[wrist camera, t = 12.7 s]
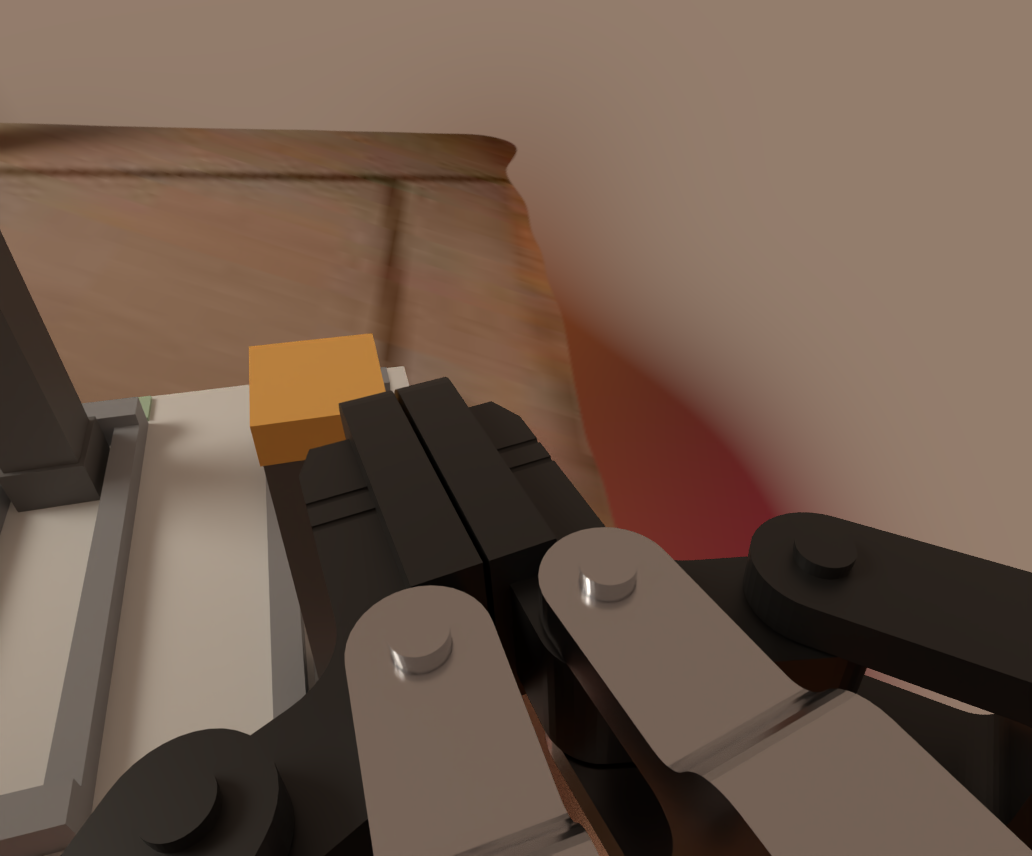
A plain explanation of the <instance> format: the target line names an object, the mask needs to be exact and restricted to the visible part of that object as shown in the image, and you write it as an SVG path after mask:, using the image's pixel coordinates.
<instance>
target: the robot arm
mask: <svg viewBox="0 0 1032 856" xmlns="http://www.w3.org/2000/svg"><path fill="white" fill-rule="evenodd" d="M339 412H340V416H341V421H342V425H343V429H344V434H345V438H346V440H343V441H339V442H336V443H332V444H328V445H324V446H321V447H317V448H313V449H309V451H308V454H307V457H306V459H305V462H304V465H303V467H302V470H301V472H300V475H299V480H300V484H301V488H302V492H303V496H304V500H305V503H306V507H307V511H308V515H309V519H310V523H311V527H312V530H313V535H314V539H315V543H316V547H317V551H318V554H319V558H320V562H321V566H322V570H323V574H324V578H325V582H326V586H327V590H328V594H329V598H330V602H331V606H332V609H333V613H334V617H335V622H336V629H337V634H336V644H335V648H334V652H333V655H332V657H331V659H330V662H329V664H328V666H327V668H326V669H325V671H324V672H323V674H322V676H321V677H320V678H319V680H318V681H317V682H316V683H315V685H314V686H313V687H312V688H311V689H310V690H309V691H308V692H307V693H306V694H305V695H304V696H303V697H302V698H301V699H300V700H299V701H297V702H296V703H295V704H294V705H292V706H291V707H290V708H289V709H287V710H286V711H284V712H283V713H281V714H280V715H279V716H277V717H276V718H274V719H273V720H271V721H270V722H269V723H267V724H266V725H264V726H263V727H261V728H260V729H258V730H257V731H256V732H254V733H253V734H251V735H248V734H246V733H243V732H240V731H238V730H232V729H225V728H216V729H205V730H199V731H194V732H191V733H188V734H185V735H182V736H179V737H176V738H174V739H172V740H170V741H168V742H166V743H164V744H162V745H160V746H159V747H157V748H155V749H154V750H152V751H150V752H149V753H147V754H146V755H145V756H144V757H142V758H141V759H140V760H138V761H137V762H136V763H134V764H133V765H132V766H131V767H130V768H129V769H128V770H127V771H126V772H125V773H124V774H123V775H122V776H121V777H120V778H119V779H118V780H117V781H116V783H115V784H114V785H113V786H112V787H111V789H110V790H109V791H108V792H107V794H106V795H105V796H104V798H103V799H102V800H101V802H100V803H99V804H98V806H97V807H96V808H95V810H94V811H93V812H92V814H91V815H90V817H89V818H88V819H87V821H86V822H85V823H84V825H83V826H82V827H81V829H80V830H79V831H78V833H77V834H76V835H75V837H74V838H73V839H72V841H71V842H70V843H69V845H68V846H67V847H66V849H65V850H64V851H63V853H62V854H61V855H60V856H599V855H598V852H597V850H596V848H595V846H594V844H593V842H592V841H591V839H590V837H589V835H588V834H587V832H586V831H585V829H584V828H583V827H582V825H580V824H579V823H576V822H573V821H572V819H571V818H570V817H569V815H568V813H567V811H566V809H565V807H564V805H563V803H562V800H561V798H560V795H559V793H558V790H557V788H556V785H555V782H554V780H553V777H552V775H551V772H550V769H549V767H548V764H547V761H546V759H545V756H544V754H543V751H542V748H541V746H540V743H539V741H538V738H537V735H536V733H535V730H534V728H533V725H532V722H531V720H530V717H529V715H528V712H527V709H526V707H525V704H524V702H523V699H522V695H524V694H527V696H528V698H529V700H530V702H531V704H532V706H533V708H534V710H535V712H536V714H537V716H538V718H539V720H540V722H541V724H542V726H543V728H544V730H545V735H546V742H547V746H548V750H549V752H550V754H551V756H552V758H553V760H554V762H555V763H556V765H557V767H558V769H559V770H560V772H561V774H562V775H563V777H564V779H565V781H566V782H567V784H568V786H569V788H570V789H571V791H572V793H573V794H574V796H575V798H576V800H577V801H578V803H579V805H580V806H581V808H582V810H583V812H584V813H585V815H586V817H587V819H588V820H589V822H590V824H591V825H592V827H593V829H594V831H595V832H596V834H597V836H598V837H599V839H600V841H601V843H602V844H603V846H604V848H605V850H606V851H607V853H608V855H609V856H1032V573H1031V572H1027V571H1024V570H1020V569H1017V568H1013V567H1010V566H1006V565H1003V564H999V563H996V562H992V561H989V560H984V559H982V558H978V557H974V556H971V555H967V554H964V553H960V552H957V551H953V550H949V549H946V548H942V547H939V546H935V545H932V544H928V543H925V542H921V541H918V540H914V539H910V538H906V537H903V536H900V535H896V534H893V533H889V532H886V531H882V530H878V529H875V528H872V527H868V526H864V525H861V524H857V523H854V522H850V521H846V520H843V519H840V518H836V517H832V516H828V515H823V514H817V513H801V512H798V513H789V514H784V515H780V516H777V517H774V518H772V519H769V520H768V521H766V522H765V523H763V524H762V525H761V526H760V527H759V528H758V529H757V530H756V531H755V533H754V535H753V537H752V540H751V544H750V549H749V554H748V557H736V558H735V557H734V558H720V559H705V560H689V561H677V560H673V559H672V558H671V557H670V556H669V555H668V554H667V553H666V552H665V551H664V550H663V549H662V548H661V547H660V546H658V545H657V544H656V543H655V542H653V541H651V540H650V539H648V538H646V537H644V536H642V535H640V534H638V533H635V532H632V531H628V530H624V529H619V528H609V527H605V526H604V524H603V523H602V522H601V520H600V519H599V518H598V517H597V515H596V514H595V513H594V511H593V510H592V509H591V508H590V506H589V505H588V504H587V502H586V501H585V500H584V499H583V497H582V496H581V495H580V493H579V492H578V491H577V490H576V488H575V487H574V486H573V484H572V483H571V482H570V480H569V479H568V478H567V477H566V475H565V474H564V473H563V471H562V470H561V469H560V468H559V466H558V465H557V464H556V462H555V461H552V460H551V457H550V455H549V453H548V452H547V451H546V450H545V448H544V447H543V446H542V444H541V443H540V442H539V443H538V442H537V438H536V437H535V435H534V434H533V433H532V431H531V430H530V429H529V428H528V426H527V425H526V424H525V422H524V421H523V420H522V419H521V417H520V416H518V415H516V414H514V413H513V412H511V411H509V410H507V409H505V408H503V407H501V406H499V405H497V404H495V403H494V402H492V401H491V402H487V403H484V404H480V405H476V406H472V407H469V408H468V406H467V405H466V403H465V402H464V400H463V399H462V397H461V396H460V394H459V393H458V391H457V390H456V388H455V387H454V385H453V384H452V382H451V381H450V380H449V379H448V378H447V377H443V378H439V379H435V380H431V381H427V382H423V383H419V384H415V385H411V386H407V387H403V388H399V389H395V391H394V393H393V391H391V390H390V391H386V392H382V393H378V394H374V395H370V396H366V397H362V398H358V399H354V400H350V401H346V402H342V403H339ZM866 668H870V669H873V670H875V671H878V672H881V673H884V674H886V675H889V676H892V677H895V678H898V679H900V680H903V681H906V682H908V683H912V684H914V685H917V686H920V687H922V688H925V689H928V690H931V691H934V692H936V693H939V694H942V695H944V696H947V697H950V698H953V699H956V700H959V701H961V702H964V703H967V704H969V705H972V706H975V707H978V708H980V709H983V710H986V711H989V712H992V713H994V714H990V715H979V714H972V713H968V712H965V711H962V710H959V709H956V708H953V707H951V706H948V705H945V704H942V703H939V702H937V701H934V700H931V699H929V698H926V697H923V696H920V695H918V694H915V693H912V692H910V691H907V690H904V689H901V688H899V687H896V686H893V685H891V684H888V683H885V682H882V681H880V680H877V679H874V678H871V677H869V676H866V675H864V674H865V671H866Z"/></svg>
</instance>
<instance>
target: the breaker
mask: <svg viewBox="0 0 1032 856" xmlns="http://www.w3.org/2000/svg"><path fill="white" fill-rule="evenodd" d="M382 392H386V391H385V386H384V382H383V378H382V373H381V369H380V365H379V360H378V356H377V352H376V347H375V343H374V339H373V334H372V333H371V334H362V335H352V336H343V337H334V338H324V339H315V340H306V341H296V342H287V343H278V344H269V345H259V346H250V347H249V402H250V430H251V433H252V437H253V441H254V445H255V448H256V452H257V456H258V460H259V464H260V467H261V466H263V467H264V471H265V475H266V479H267V483H268V486H269V490H270V494H271V498H272V502H273V506H274V509H275V513H276V517H277V521H278V525H279V529H280V532H281V536H282V540H283V544H284V548H285V552H286V555H287V559H288V563H289V567H290V571H291V575H292V579H293V582H294V586H295V590H296V594H297V598H298V602H299V605H300V609H301V613H302V617H303V621H304V625H305V628H306V632H307V636H308V640H309V644H310V648H311V651H312V655H313V661H314V674H315V683H316V682H317V681H318V680H319V678H320V677H321V676H322V674H323V672H324V671H325V669H326V668H327V666H328V664H329V662H330V659H331V657H332V655H333V652H334V648H335V644H336V634H337V629H336V622H335V617H334V613H333V609H332V606H331V602H330V598H329V594H328V590H327V586H326V582H325V578H324V574H323V570H322V566H321V562H320V558H319V554H318V551H317V547H316V543H315V539H314V535H313V530H312V527H311V523H310V519H309V515H308V511H307V507H306V503H305V500H304V496H303V492H302V488H301V484H300V480H299V475H300V472H301V470H302V467H303V465H304V462H305V459H306V457H307V454H308V451H309V449H313V448H317V447H321V446H324V445H328V444H332V443H336V442H339V441H343V440H346V438H345V434H344V429H343V425H342V421H341V416H340V412H339V403H342V402H346V401H350V400H354V399H358V398H362V397H366V396H370V395H374V394H378V393H382Z"/></svg>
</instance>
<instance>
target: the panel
mask: <svg viewBox="0 0 1032 856" xmlns="http://www.w3.org/2000/svg"><path fill="white" fill-rule="evenodd" d="M380 369H381V373H382V378H383V382H384V386H385V391H390V390H391V391H393V393H394V391H395V389H399V388H403V387H407V386H409V383H408V380H407V376H406V372H405V369H404V366H401V367H393V368H386V367H383V368H380ZM314 685H315V674H314V661H313V655H312V651H311V648H310V644H309V640H308V636H307V632H306V628H305V625H304V621H303V617H302V613H301V609H300V605H299V602H298V598H297V594H296V590H295V586H294V582H293V579H292V575H291V571H290V567H289V563H288V559H287V555H286V552H285V548H284V544H283V540H282V536H281V532H280V529H279V525H278V521H277V517H276V513H275V509H274V506H273V502H272V498H271V494H270V490H269V486H268V483H267V479H266V475H265V471H264V467H263V466H261V467H260V464H259V460H258V456H257V452H256V448H255V445H254V441H253V437H252V433H251V430H250V402H249V385H243V386H235V387H227V388H219V389H210V390H202V391H194V392H185V393H177V394H169V395H160V396H152V397H151V396H145V397H132V398H124V399H116V400H107V401H99V402H91V403H82V404H81V401H80V399H79V397H78V395H77V393H76V391H75V389H74V386H73V384H72V382H71V380H70V378H69V376H68V374H67V372H66V369H65V367H64V365H63V363H62V361H61V359H60V357H59V354H58V352H57V350H56V348H55V346H54V344H53V342H52V340H51V337H50V335H49V333H48V331H47V329H46V327H45V325H44V323H43V320H42V318H41V316H40V314H39V312H38V310H37V308H36V305H35V303H34V301H33V299H32V297H31V295H30V293H29V291H28V288H27V286H26V284H25V282H24V280H23V278H22V276H21V274H20V271H19V269H18V267H17V265H16V263H15V261H14V259H13V256H12V254H11V252H10V250H9V248H8V246H7V244H6V242H5V239H4V237H3V235H2V233H1V231H0V856H60V855H61V854H62V853H63V851H64V850H65V849H66V847H67V846H68V845H69V843H70V842H71V841H72V839H73V838H74V837H75V835H76V834H77V833H78V831H79V830H80V829H81V827H82V826H83V825H84V823H85V822H86V821H87V819H88V818H89V817H90V815H91V814H92V812H93V811H94V810H95V808H96V807H97V806H98V804H99V803H100V802H101V800H102V799H103V798H104V796H105V795H106V794H107V792H108V791H109V790H110V789H111V787H112V786H113V785H114V784H115V783H116V781H117V780H118V779H119V778H120V777H121V776H122V775H123V774H124V773H125V772H126V771H127V770H128V769H129V768H130V767H131V766H132V765H133V764H134V763H136V762H137V761H138V760H140V759H141V758H142V757H144V756H145V755H146V754H147V753H149V752H150V751H152V750H154V749H155V748H157V747H159V746H160V745H162V744H164V743H166V742H168V741H170V740H172V739H174V738H176V737H179V736H182V735H185V734H188V733H191V732H194V731H199V730H205V729H216V728H225V729H232V730H238V731H240V732H243V733H246V734H248V735H251V734H253V733H254V732H256V731H257V730H258V729H260V728H261V727H263V726H264V725H266V724H267V723H269V722H270V721H271V720H273V719H274V718H276V717H277V716H279V715H280V714H281V713H283V712H284V711H286V710H287V709H289V708H290V707H291V706H292V705H294V704H295V703H296V702H297V701H299V700H300V699H301V698H302V697H303V696H304V695H305V694H306V693H307V692H308V691H309V690H310V689H311V688H312V687H313V686H314Z"/></svg>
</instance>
